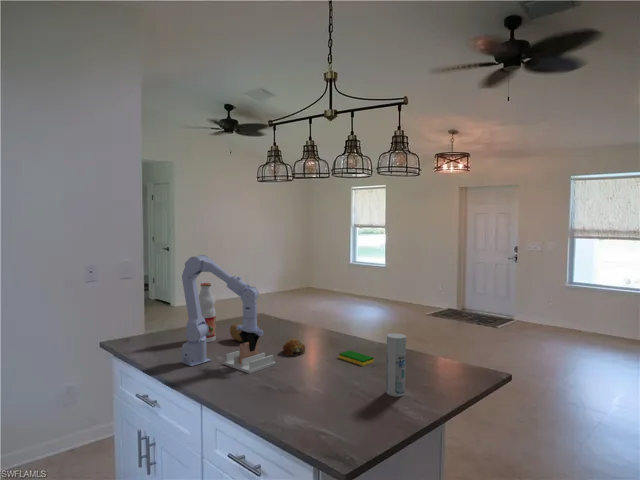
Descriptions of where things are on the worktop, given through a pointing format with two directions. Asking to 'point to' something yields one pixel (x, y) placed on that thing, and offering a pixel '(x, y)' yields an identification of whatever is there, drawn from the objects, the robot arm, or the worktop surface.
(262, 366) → the dish rack
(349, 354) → the dish sponge
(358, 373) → the worktop surface
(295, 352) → the bread roll
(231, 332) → the potato
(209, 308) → the fruit juice
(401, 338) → the spray can
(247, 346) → the tile
